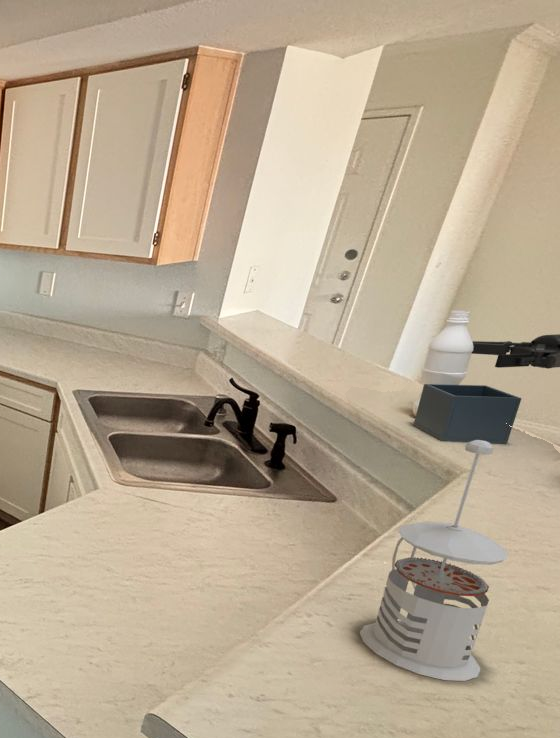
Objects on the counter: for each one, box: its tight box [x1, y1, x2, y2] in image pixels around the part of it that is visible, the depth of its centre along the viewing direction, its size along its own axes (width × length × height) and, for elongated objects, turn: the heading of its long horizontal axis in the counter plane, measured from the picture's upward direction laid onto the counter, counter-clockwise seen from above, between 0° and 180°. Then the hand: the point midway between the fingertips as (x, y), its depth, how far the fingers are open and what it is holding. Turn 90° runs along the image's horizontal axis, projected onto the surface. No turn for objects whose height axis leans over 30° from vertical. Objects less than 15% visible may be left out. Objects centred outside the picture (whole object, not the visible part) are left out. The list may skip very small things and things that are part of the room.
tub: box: [412, 383, 522, 445], centre depth 126 cm, size 11×11×10 cm
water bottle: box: [412, 309, 473, 417], centre depth 134 cm, size 7×7×25 cm
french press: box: [359, 440, 509, 682], centre depth 63 cm, size 10×12×25 cm
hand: (466, 355), depth 133 cm, fingers open, 13 cm apart
